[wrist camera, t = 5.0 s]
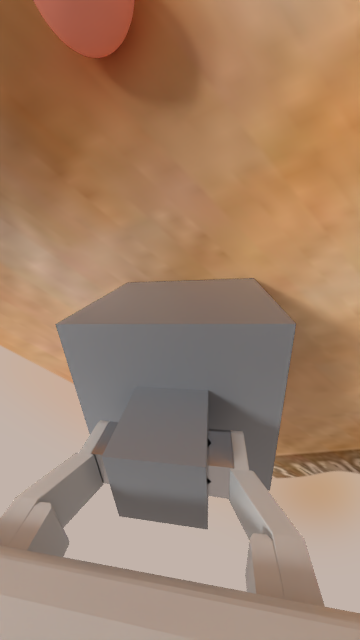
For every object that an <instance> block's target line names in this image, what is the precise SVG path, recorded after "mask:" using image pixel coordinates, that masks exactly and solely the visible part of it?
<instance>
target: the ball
mask: <svg viewBox="0 0 360 640" xmlns="http://www.w3.org/2000/svg"><path fill="white" fill-rule="evenodd" d="M33 1H34V3H35V5H36V6H37V8H38V10H39V12H40V14H41V15H42V17H43V18H44V20H45V21H46V23H47V24H48V25H49V27H50V28H51V29H52V31H53V32H54V33H55V34H56V35H57V36H58V37H59V39H60V40H62V41H63V42H64V43H65V44H66V45H67V46H68V47H70V48H71V49H73V50H74V51H76V52H78V53H80V54H82V55H84V56H87V57H92V58H101V57H105V56H107V55H109V54H111V53H113V52H114V51H115V50H116V49H117V48H118V47H119V46H120V45H121V44H122V42H123V40H124V39H125V37H126V35H127V32H128V30H129V27H130V24H131V21H132V16H133V10H134V1H135V0H33Z"/></svg>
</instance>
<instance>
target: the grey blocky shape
mask: <svg viewBox="0 0 360 640" xmlns="http://www.w3.org/2000/svg"><path fill="white" fill-rule="evenodd" d="M56 327H57V331H58V334H59V337H60V340H61V343H62V347H63V350H64V353H65V356H66V359H67V363H68V366H69V369H70V372H71V375H72V379H73V382H74V385H75V388H76V391H77V395H78V398H79V401H80V404H81V407H82V411H83V414H84V417H85V420H86V424H87V426H88V430H89V433H90V434H91V433H92V431H93V429H94V428H95V426H96V424H97V423H98V422H99V421H100V420H101V421H112V422H118V424H117V426H116V428H115V430H114V432H113V434H112V436H111V439H110V441H109V443H108V445H107V447H106V449H105V451H104V453H103V455H102V460H103V463H104V466H105V470H106V473H107V476H108V480H109V483H110V486H111V490H112V493H113V496H114V500H115V503H116V507H117V510H118V513H119V516H122V517H129V518H136V519H142V520H149V521H156V522H162V523H169V524H175V525H182V526H189V527H195V528H202V529H208V490H207V478H208V477H207V448H208V429H220V430H230V431H231V430H232V431H242V432H243V434H244V440H245V446H246V452H247V459H248V465H249V470H250V471H254V473H255V474H256V475H257V477H258V478H259V479H260V481H261V482H262V483H263V485H264V486H265V487H266V489H267V490H270V486H271V479H272V473H273V467H274V460H275V454H276V448H277V441H278V435H279V429H280V422H281V416H282V410H283V403H284V397H285V391H286V384H287V378H288V372H289V365H290V359H291V353H292V346H293V340H294V334H295V328H296V323H295V322H294V321H293V320H292V319H291V318H290V317H289V316H288V315H287V314H286V312H285V311H284V310H283V309H282V308H281V307H280V306H279V305H278V304H277V303H276V302H275V301H274V299H273V298H272V297H271V296H270V295H269V294H268V293H267V292H266V291H265V290H264V289H263V288H262V287H261V285H260V284H259V283H258V282H257V281H256V280H255V279H254V278H249V279H219V280H190V281H160V282H131V283H126V284H124V285H122V286H121V287H119V288H117V289H116V290H114V291H112V292H110V293H109V294H107V295H105V296H103V297H102V298H100V299H98V300H97V301H95V302H93V303H91V304H90V305H88V306H86V307H84V308H83V309H81V310H79V311H78V312H76V313H74V314H72V315H71V316H69V317H67V318H65V319H64V320H62V321H60V322H59V323H57V324H56Z"/></svg>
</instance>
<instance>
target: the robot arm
mask: <svg viewBox="0 0 360 640" xmlns="http://www.w3.org/2000/svg"><path fill="white" fill-rule="evenodd" d="M117 424H118V422H112V421H101V420H100V421H99V422H98V423H97V424H96V426H95V428H94V429H93V431H92V433H91V434H90V436H89V438H88V439H87V441H86V442H85V444H84V446H83V447H82V449H81V451H80V452H79V453H75V454H74V455H72V456H71V457H70V458H68V459H67V460H66V461H64V462H63V463H62V464H60V465H59V466H57V467H56V468H55V469H53V470H52V471H51V472H49V473H48V474H47V475H45V476H44V477H43V478H41V479H40V480H39V481H37V482H36V483H35V484H33V485H32V486H31V487H29V488H28V489H26V490H25V491H24V492H22V493H21V494H20V495H18V496H17V497H16V498H15V500H14V501H13V502H12V504H11V505H10V506H9V507H8V509H7V510H6V512H5V513H4V514H3V516H2V517H1V518H0V640H360V613H355V612H349V611H345V610H339V609H334V608H329V607H325V606H324V603H323V599H322V596H321V593H320V589H319V586H318V583H317V579H316V576H315V573H314V570H313V566H312V563H311V560H310V556H309V553H308V550H307V546H306V543H305V540H304V538H303V537H302V535H301V534H300V533H299V531H298V530H297V529H296V527H295V526H294V525H293V523H292V522H291V521H290V519H289V518H288V517H287V515H286V514H285V513H284V511H283V510H282V509H281V508H280V506H279V505H278V503H277V502H276V501H275V499H274V498H273V497H272V495H271V494H270V493H269V491H268V490H267V489H266V487H265V486H264V485H263V483H262V482H261V481H260V479H259V478H258V477H257V475H256V474H255V473H254V471H250V470H249V465H248V459H247V452H246V446H245V440H244V434H243V432H242V431H232V430H231V431H230V430H220V429H208V448H207V477H208V478H207V490H208V496H214V497H221V498H227V499H229V501H230V503H231V505H232V507H233V509H234V511H235V513H236V515H237V517H238V519H239V521H240V523H241V525H242V526H243V529H244V530H245V532H246V534H247V536H248V538H249V540H250V543H249V550H248V558H247V567H246V586H247V592H244V591H239V590H234V589H228V588H223V587H217V586H213V585H207V584H202V583H197V582H192V581H186V580H181V579H175V578H170V577H164V576H160V575H154V574H149V573H144V572H139V571H133V570H128V569H123V568H117V567H112V566H106V565H102V564H96V563H91V562H85V561H80V560H75V559H70V558H64V557H63V556H64V554H65V551H66V549H67V547H68V545H69V540H68V537H67V535H66V533H65V531H64V529H63V528H64V526H65V525H66V524H67V523H68V522H69V521H70V520H71V519H72V518H73V517H74V515H76V513H77V512H78V511H79V510H80V509H81V508H82V507H83V506H84V505H85V504H86V503H87V502H88V500H89V499H90V498H91V497H92V496H93V495H94V494H95V493H96V492H97V491H98V490H99V488H100V487H101V486H102V485H103V483H107V484H110V483H109V480H108V476H107V473H106V470H105V466H104V463H103V460H102V455H103V453H104V451H105V449H106V447H107V445H108V443H109V441H110V439H111V436H112V434H113V432H114V430H115V428H116V426H117Z"/></svg>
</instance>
